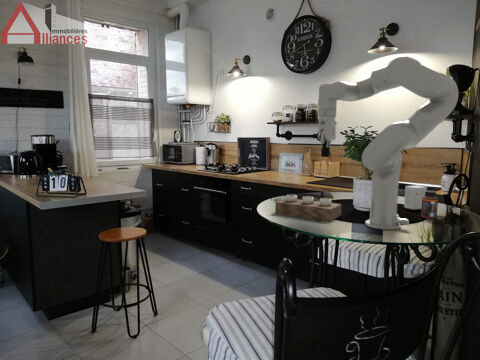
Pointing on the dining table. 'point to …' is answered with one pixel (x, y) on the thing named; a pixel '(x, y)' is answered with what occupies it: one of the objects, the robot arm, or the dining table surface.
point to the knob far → (291, 198)
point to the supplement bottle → (429, 205)
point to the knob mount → (308, 209)
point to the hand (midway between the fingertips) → (325, 156)
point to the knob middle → (308, 200)
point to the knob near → (325, 202)
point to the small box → (414, 196)
